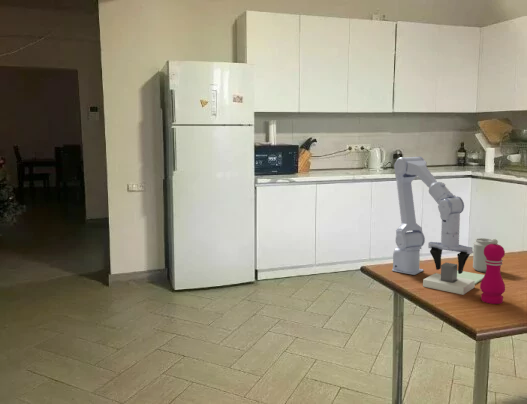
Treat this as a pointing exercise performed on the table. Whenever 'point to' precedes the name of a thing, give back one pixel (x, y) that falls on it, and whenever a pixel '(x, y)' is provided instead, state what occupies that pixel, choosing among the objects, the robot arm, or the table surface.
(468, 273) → the mat
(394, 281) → the table surface
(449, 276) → the plug
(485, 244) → the can
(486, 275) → the pepper mill
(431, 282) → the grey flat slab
